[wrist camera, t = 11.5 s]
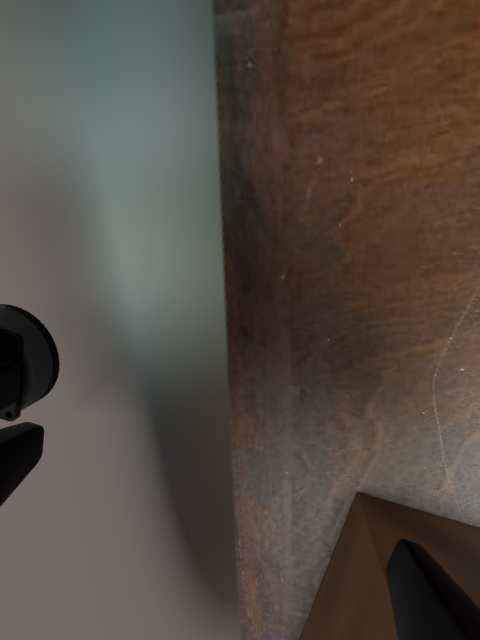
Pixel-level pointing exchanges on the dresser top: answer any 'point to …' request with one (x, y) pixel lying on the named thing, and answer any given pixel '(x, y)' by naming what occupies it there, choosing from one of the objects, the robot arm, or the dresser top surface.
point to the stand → (384, 568)
